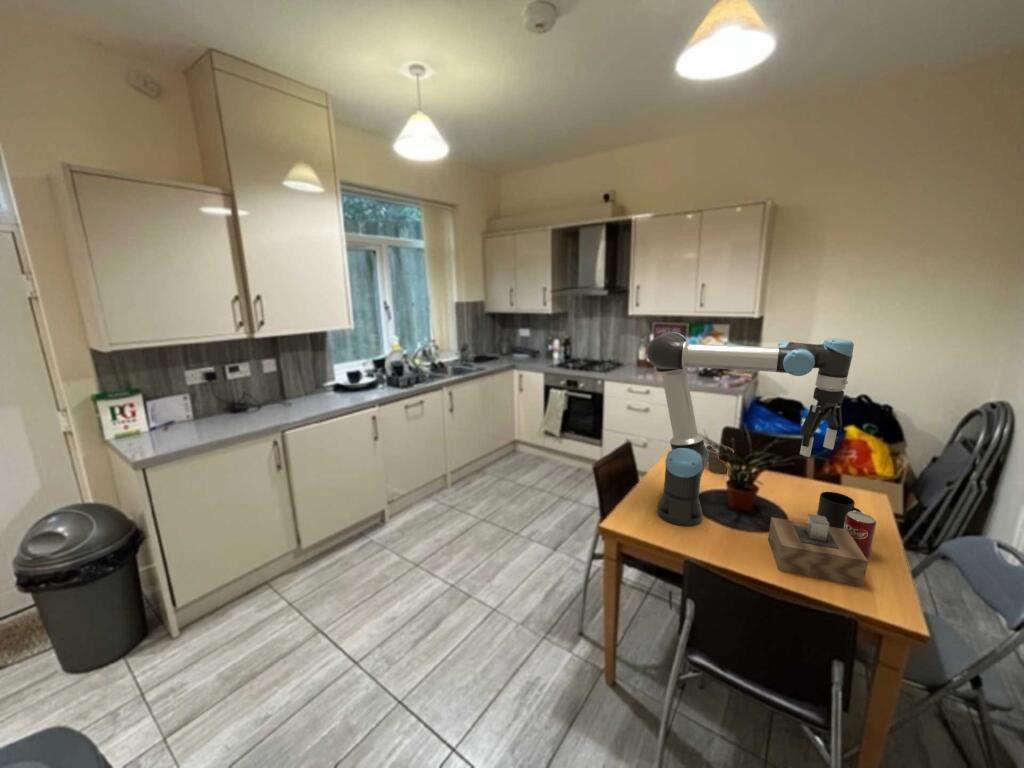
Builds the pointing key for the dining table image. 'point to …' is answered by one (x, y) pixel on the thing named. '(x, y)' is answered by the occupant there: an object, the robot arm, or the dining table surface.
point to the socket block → (817, 553)
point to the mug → (835, 508)
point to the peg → (817, 528)
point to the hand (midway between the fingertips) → (816, 451)
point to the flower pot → (716, 460)
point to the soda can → (861, 529)
